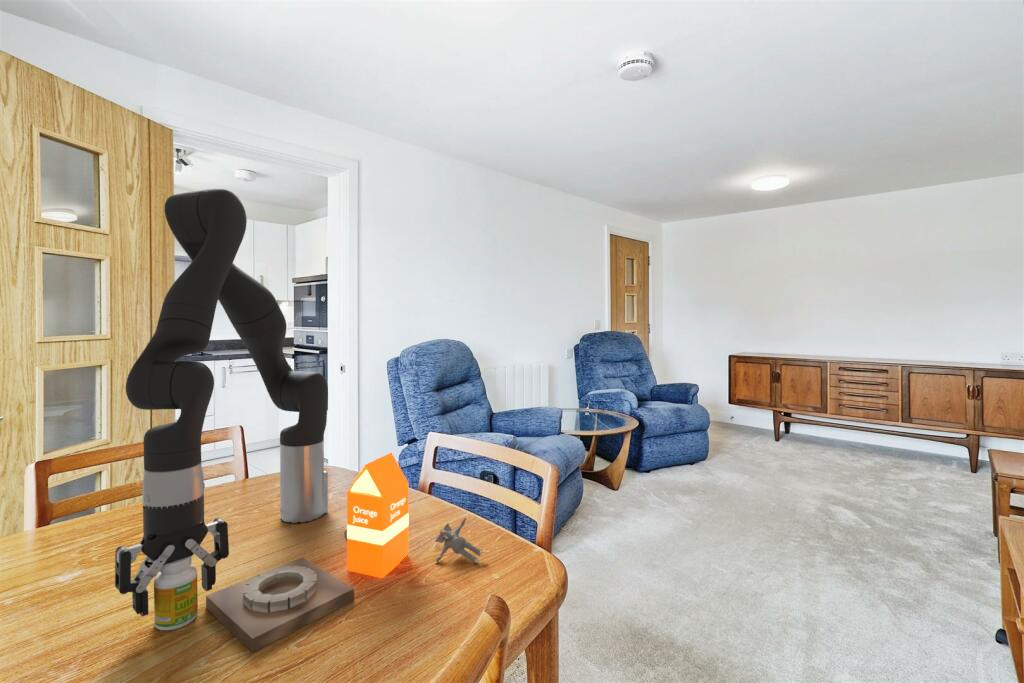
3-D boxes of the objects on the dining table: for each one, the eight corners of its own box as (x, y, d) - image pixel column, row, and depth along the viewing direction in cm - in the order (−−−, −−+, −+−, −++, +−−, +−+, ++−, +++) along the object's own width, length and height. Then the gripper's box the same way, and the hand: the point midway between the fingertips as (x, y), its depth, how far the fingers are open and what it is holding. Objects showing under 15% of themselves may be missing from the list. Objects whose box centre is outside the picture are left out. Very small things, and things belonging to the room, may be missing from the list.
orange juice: (409, 555, 95) (409, 454, 94) (382, 578, 86) (383, 467, 85) (374, 548, 97) (374, 449, 96) (346, 570, 89) (345, 462, 88)
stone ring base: (302, 567, 90) (302, 549, 89) (354, 600, 80) (354, 579, 80) (206, 607, 77) (205, 586, 77) (252, 652, 67) (252, 628, 67)
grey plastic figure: (463, 578, 87) (423, 551, 91) (465, 587, 92) (427, 561, 95) (493, 529, 93) (454, 506, 96) (494, 540, 98) (457, 517, 101)
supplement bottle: (176, 634, 71) (174, 569, 70) (145, 628, 72) (143, 564, 71) (206, 612, 76) (205, 551, 75) (177, 607, 77) (176, 547, 77)
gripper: (216, 477, 81) (217, 573, 82) (106, 502, 70) (109, 613, 70) (236, 487, 76) (237, 589, 77) (121, 516, 65) (125, 635, 66)
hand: (176, 600), depth 74 cm, fingers open, 8 cm apart
